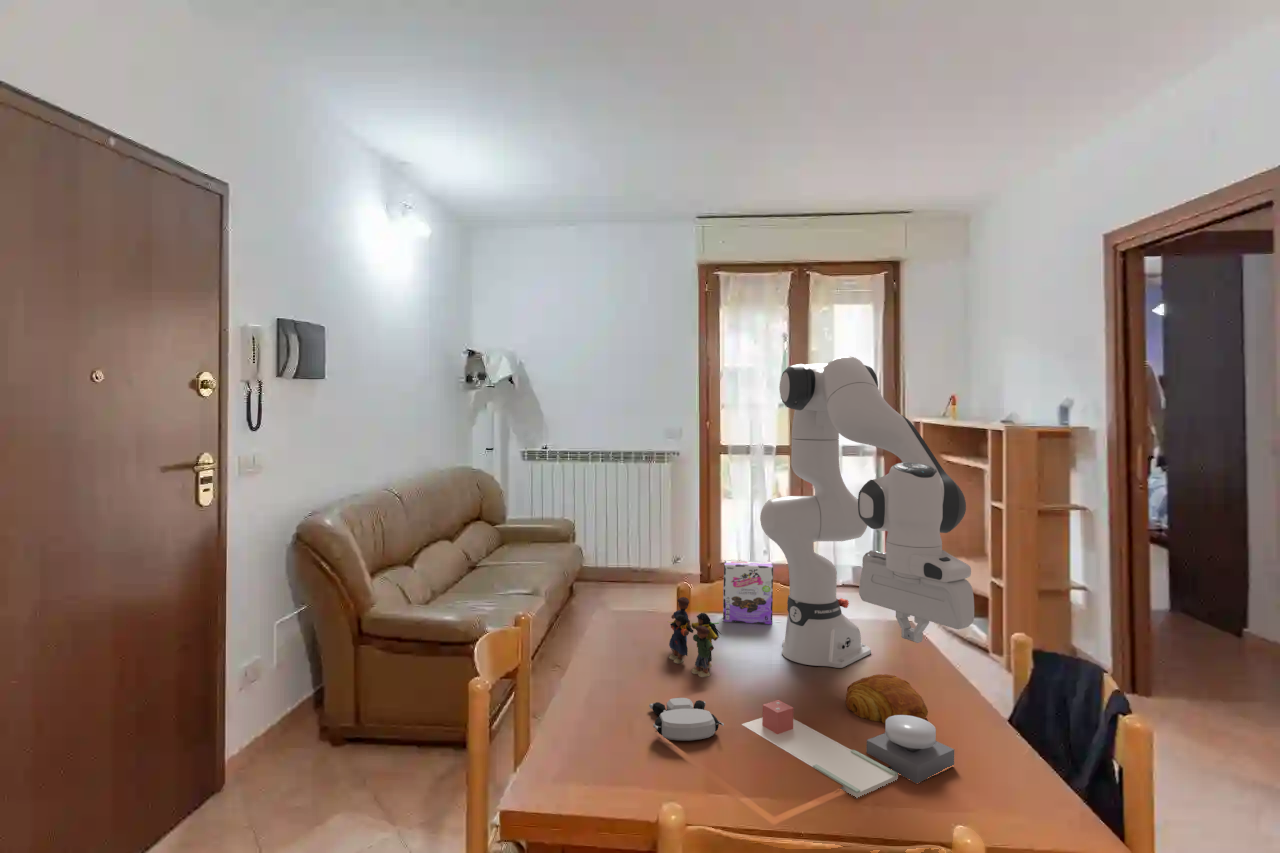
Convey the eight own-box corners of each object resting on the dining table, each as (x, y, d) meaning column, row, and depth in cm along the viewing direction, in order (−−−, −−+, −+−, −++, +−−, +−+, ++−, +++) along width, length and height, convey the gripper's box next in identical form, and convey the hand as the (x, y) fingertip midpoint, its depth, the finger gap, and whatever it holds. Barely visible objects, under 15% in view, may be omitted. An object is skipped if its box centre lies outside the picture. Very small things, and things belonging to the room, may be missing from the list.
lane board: (780, 715, 134) (780, 710, 134) (897, 779, 111) (897, 773, 111) (729, 732, 127) (729, 726, 127) (843, 804, 104) (843, 797, 104)
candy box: (722, 622, 192) (723, 564, 191) (723, 615, 198) (724, 559, 197) (772, 625, 190) (773, 566, 189) (772, 618, 195) (772, 561, 195)
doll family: (647, 650, 170) (647, 596, 169) (676, 643, 175) (676, 591, 174) (707, 681, 151) (708, 621, 150) (738, 672, 156) (738, 614, 156)
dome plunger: (904, 733, 122) (904, 711, 122) (945, 752, 116) (945, 729, 116) (875, 744, 118) (875, 722, 118) (915, 765, 111) (916, 741, 111)
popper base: (903, 742, 124) (903, 725, 124) (954, 766, 115) (954, 749, 115) (866, 757, 119) (866, 740, 118) (917, 784, 110) (917, 765, 110)
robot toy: (646, 718, 135) (656, 751, 120) (646, 695, 135) (656, 725, 120) (707, 715, 136) (725, 747, 121) (706, 692, 136) (725, 721, 122)
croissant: (834, 715, 140) (829, 677, 139) (895, 694, 145) (891, 657, 144) (881, 746, 126) (876, 704, 126) (947, 722, 131) (942, 682, 131)
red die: (778, 720, 130) (778, 698, 130) (793, 728, 127) (793, 706, 127) (762, 725, 128) (762, 703, 128) (777, 734, 125) (777, 711, 125)
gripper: (851, 550, 123) (850, 626, 123) (957, 574, 106) (955, 662, 106) (874, 546, 126) (873, 620, 127) (980, 569, 109) (979, 654, 110)
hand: (911, 640), depth 116 cm, fingers closed
